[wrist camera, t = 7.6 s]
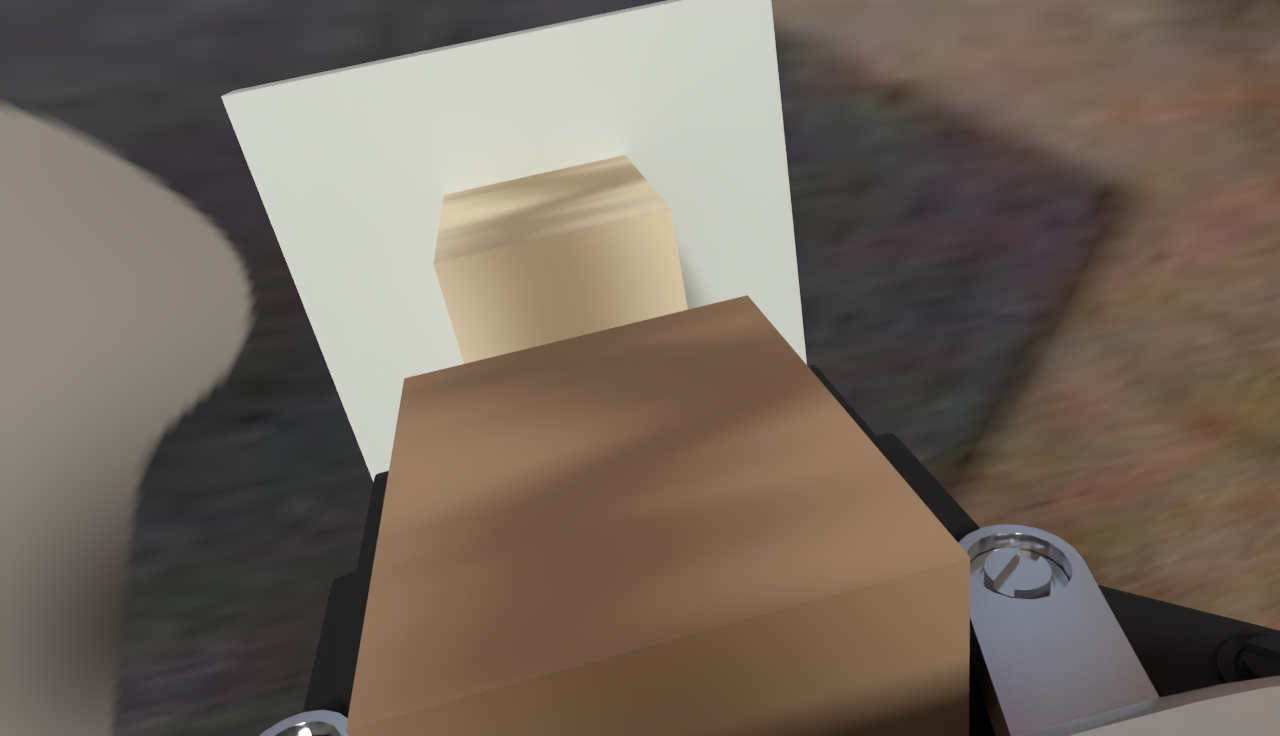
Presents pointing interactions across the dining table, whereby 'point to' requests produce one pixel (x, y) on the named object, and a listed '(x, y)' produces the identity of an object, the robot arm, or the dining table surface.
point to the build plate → (518, 172)
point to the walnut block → (655, 551)
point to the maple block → (556, 257)
